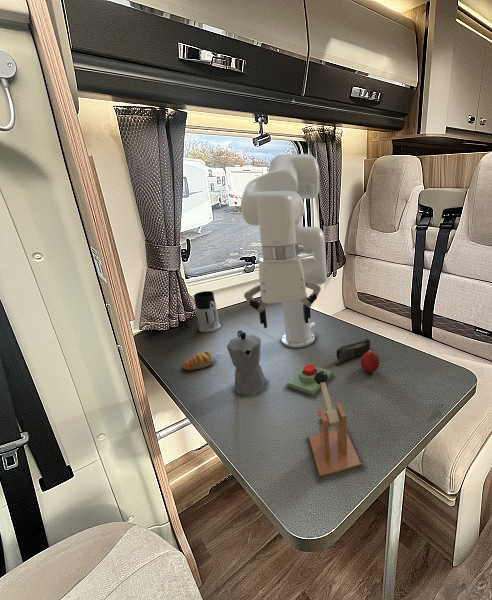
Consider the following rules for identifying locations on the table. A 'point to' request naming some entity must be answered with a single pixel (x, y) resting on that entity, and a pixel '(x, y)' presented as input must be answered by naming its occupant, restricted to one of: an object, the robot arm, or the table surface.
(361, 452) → the table surface
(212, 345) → the table surface
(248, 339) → the coffeepot
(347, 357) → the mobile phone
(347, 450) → the switch bracket
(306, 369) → the button
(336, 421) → the switch lever
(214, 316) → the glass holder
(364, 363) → the onion
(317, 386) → the control block
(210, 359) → the pastry
